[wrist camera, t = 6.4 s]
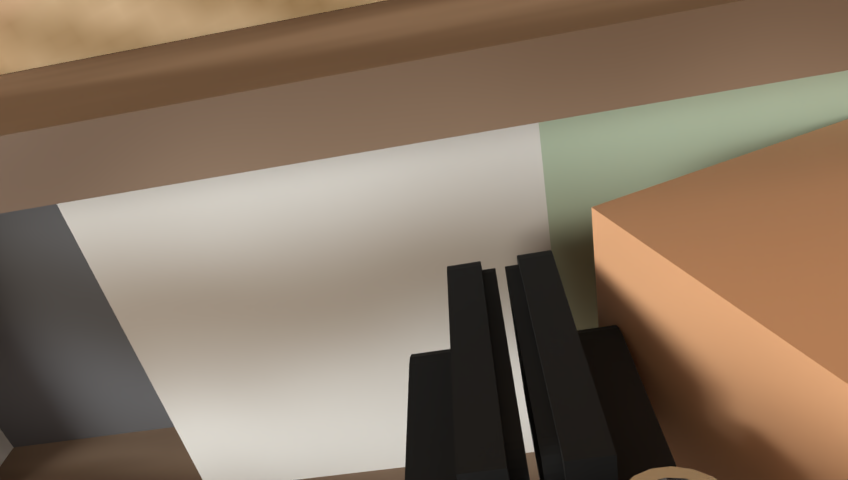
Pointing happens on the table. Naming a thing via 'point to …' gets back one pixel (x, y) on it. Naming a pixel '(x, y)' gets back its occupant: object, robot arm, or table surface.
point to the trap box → (342, 211)
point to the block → (739, 307)
